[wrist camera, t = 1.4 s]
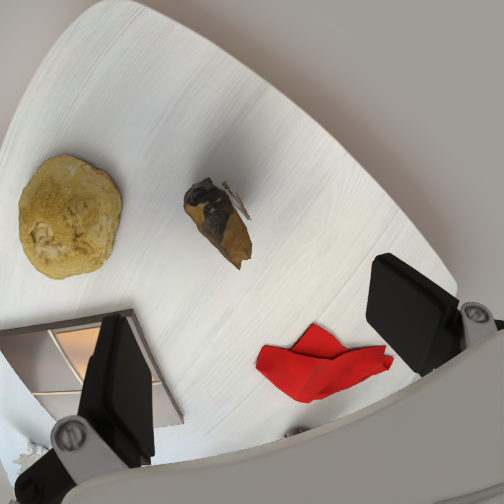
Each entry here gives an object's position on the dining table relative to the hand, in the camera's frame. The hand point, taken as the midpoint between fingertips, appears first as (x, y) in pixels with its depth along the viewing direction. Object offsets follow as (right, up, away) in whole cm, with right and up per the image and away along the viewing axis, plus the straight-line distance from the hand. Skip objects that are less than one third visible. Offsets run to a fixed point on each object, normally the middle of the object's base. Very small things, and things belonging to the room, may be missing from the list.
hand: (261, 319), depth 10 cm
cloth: (+11, -15, +28) cm, 34 cm away
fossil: (-17, +5, +11) cm, 21 cm away
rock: (-4, +7, +14) cm, 16 cm away
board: (-21, -14, +18) cm, 31 cm away
